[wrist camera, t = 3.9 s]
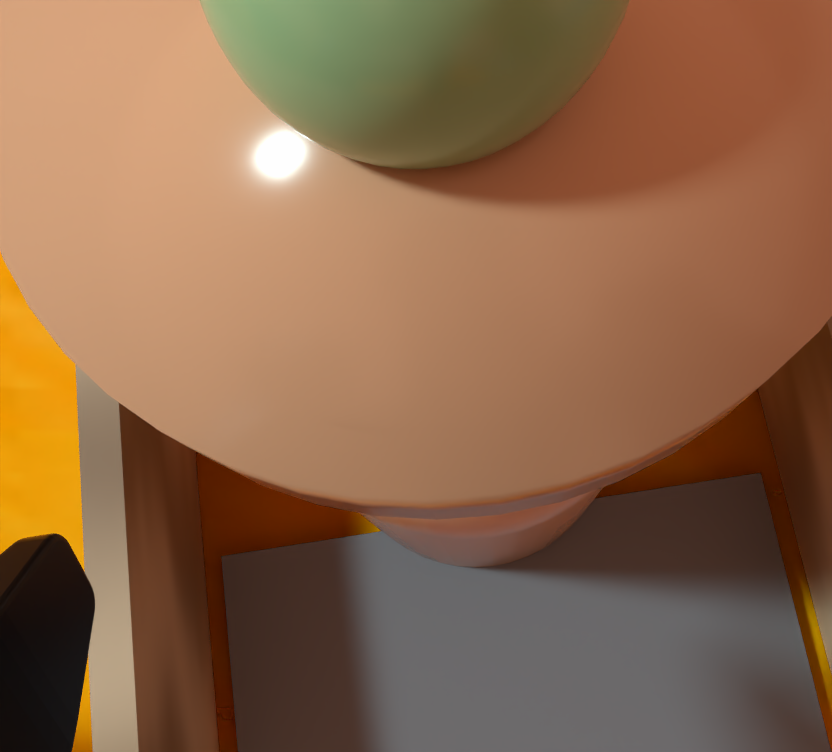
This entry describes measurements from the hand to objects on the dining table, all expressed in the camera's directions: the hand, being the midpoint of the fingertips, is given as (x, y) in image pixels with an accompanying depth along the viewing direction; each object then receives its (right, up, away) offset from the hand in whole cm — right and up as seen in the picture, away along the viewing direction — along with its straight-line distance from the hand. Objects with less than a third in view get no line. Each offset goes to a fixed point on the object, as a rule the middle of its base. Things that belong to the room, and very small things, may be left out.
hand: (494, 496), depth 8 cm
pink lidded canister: (0, 0, +10) cm, 10 cm away
